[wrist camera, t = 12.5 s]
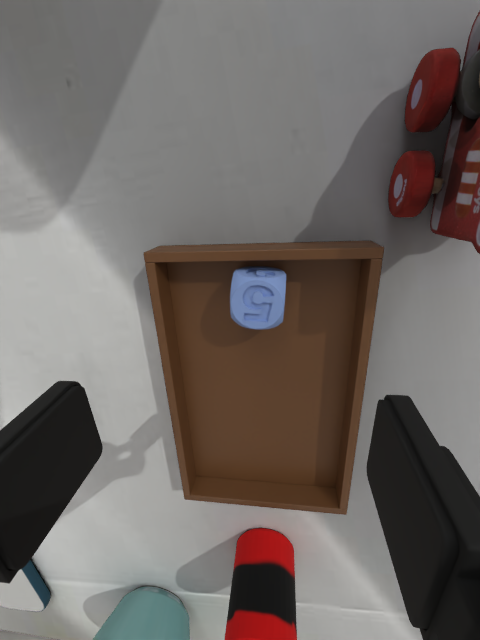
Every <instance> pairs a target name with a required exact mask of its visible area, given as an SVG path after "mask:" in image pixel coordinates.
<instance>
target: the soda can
mask: <svg viewBox="0 0 480 640" xmlns="http://www.w3.org/2000/svg"><path fill="white" fill-rule="evenodd" d="M225 640H297V630H296V601H295V571H294V549H293V546H292V544H291V543H290V541H289V540H288V539H287V538H286V537H285V536H284V535H283V534H281V533H279V532H277V531H275V530H271V529H266V528H256V529H251V530H248V531H246V532H245V533H244V534H242V535H241V536H240V538H239V539H238V541H237V547H236V555H235V563H234V571H233V578H232V586H231V594H230V602H229V610H228V618H227V625H226V633H225Z"/></svg>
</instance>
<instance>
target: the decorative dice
mask: <svg viewBox="0 0 480 640" xmlns="http://www.w3.org/2000/svg"><path fill="white" fill-rule="evenodd" d="M285 292H286V273H285V272H284V271H282V270H280V269H277V268H272V267H264V266H249V267H242V268H239V269H237V270H236V271H234V273H233V277H232V283H231V292H230V313H231V318H232V319H233V320H234V321H235V322H236V323H237V324H238V325H240V326H242V327H245V328H249V329H258V330H262V329H271V328H274V327H277V326H278V325H280V324H281V323H282V322H283V316H284V306H285Z"/></svg>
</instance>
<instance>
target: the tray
mask: <svg viewBox="0 0 480 640" xmlns="http://www.w3.org/2000/svg"><path fill="white" fill-rule="evenodd" d="M383 253H384V247H382V246H380V245H378V244H376V243H374V242H373V241H334V242H294V243H255V244H215V245H175V246H158V247H156V248H154V249H151V250H149V251H146V252H144V259H145V262H146V263H145V265H146V271H147V277H148V283H149V289H150V295H151V301H152V307H153V313H154V319H155V325H156V331H157V337H158V343H159V349H160V355H161V361H162V367H163V373H164V379H165V385H166V391H167V397H168V403H169V409H170V415H171V421H172V427H173V432H174V438H175V444H176V450H177V456H178V462H179V468H180V474H181V480H182V486H183V492H184V499H186V500H197V501H207V502H218V503H228V504H239V505H249V506H260V507H271V508H281V509H292V510H302V511H313V512H323V513H334V514H345V515H346V514H347V507H348V500H349V493H350V485H351V478H352V471H353V464H354V457H355V450H356V443H357V436H358V429H359V422H360V415H361V408H362V401H363V394H364V387H365V380H366V373H367V366H368V358H369V351H370V344H371V337H372V330H373V323H374V316H375V309H376V302H377V295H378V288H379V281H380V274H381V267H382V258H383ZM249 266H264V267H272V268H277V269H280V270H282V271H284V272H285V273H286V292H285V306H284V316H283V322H282V323H281V324H280V325H278V326H277V327H274V328H271V329H262V330H258V329H249V328H245V327H242V326H240V325H238V324H237V323H236V322H235V321H234V320H233V319H232V318H231V313H230V292H231V283H232V277H233V273H234V271H236V270H237V269H239V268H242V267H249Z"/></svg>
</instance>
